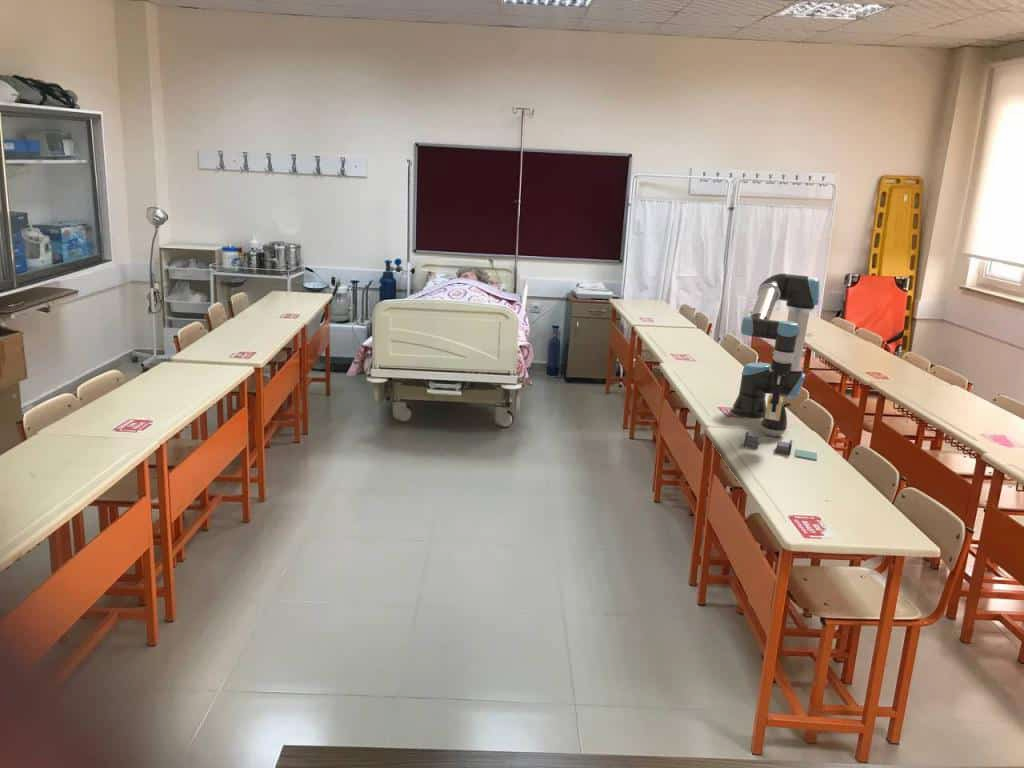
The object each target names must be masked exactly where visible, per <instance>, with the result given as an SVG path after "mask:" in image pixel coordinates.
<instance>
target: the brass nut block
mask: <svg viewBox="0 0 1024 768" xmlns="http://www.w3.org/2000/svg"><path fill="white" fill-rule="evenodd" d="M772 398H773V394H768V398H767V403H766V408H767V409H766V414H765V419H769V413H770V407H771V403H770V402H771V401H772ZM774 401H775V400H774ZM778 402H779V403H778V409H777V415H776V421H779V419H780V414H781V408H782V403H783V404H784V396H782V397H781V396H779V401H778ZM770 420H772V419H770Z"/></svg>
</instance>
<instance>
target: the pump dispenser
mask: <svg viewBox="0 0 1024 768" xmlns="http://www.w3.org/2000/svg"><path fill="white" fill-rule="evenodd" d="M789 406H791V403H790V402H789V403H788V402H787V403H784V402H783V403H782V408H781V414H780V419H779V421H776V420H770V419H765V414H766V412H765V414H764V417H762V419H761V427H762V430H763V433H764V434H766V435H767V436H770V437H780V436H781V435H783V434H784V433H785V431H786V430H787V426H788V415H787V410H786V408H787V407H789Z"/></svg>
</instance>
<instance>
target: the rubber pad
mask: <svg viewBox="0 0 1024 768" xmlns="http://www.w3.org/2000/svg"><path fill="white" fill-rule="evenodd" d="M794 457H795V458H800V459H806V460H810V461H817V460H818V453H817V452H813V451H808V450H803V449H797V448H796V449H795V456H794Z"/></svg>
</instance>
